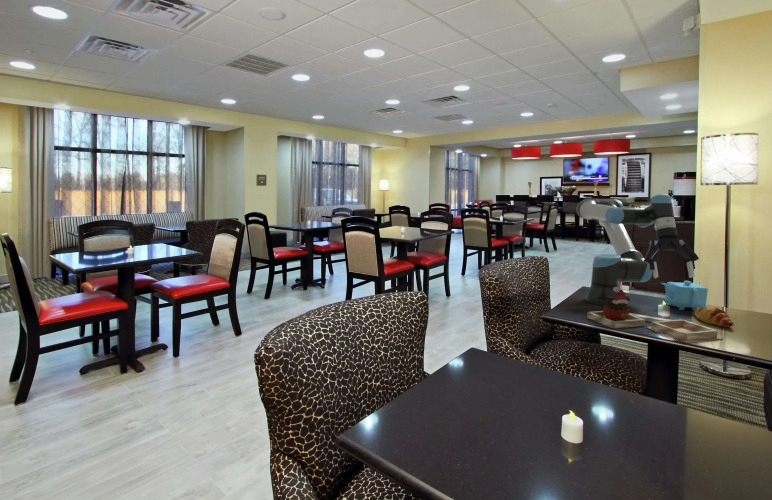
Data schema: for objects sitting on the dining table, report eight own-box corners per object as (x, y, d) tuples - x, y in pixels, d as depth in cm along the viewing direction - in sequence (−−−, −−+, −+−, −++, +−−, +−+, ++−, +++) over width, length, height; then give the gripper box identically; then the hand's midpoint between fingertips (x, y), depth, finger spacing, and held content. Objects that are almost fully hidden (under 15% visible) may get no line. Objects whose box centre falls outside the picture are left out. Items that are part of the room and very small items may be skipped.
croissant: (688, 321, 193) (681, 306, 192) (709, 312, 192) (702, 296, 191) (724, 337, 172) (716, 319, 171) (747, 326, 171) (740, 309, 170)
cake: (617, 317, 184) (621, 276, 181) (634, 324, 175) (639, 281, 172) (596, 318, 181) (600, 277, 178) (612, 325, 172) (617, 282, 170)
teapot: (687, 304, 210) (691, 278, 208) (708, 313, 195) (712, 285, 193) (649, 301, 212) (652, 276, 210) (666, 310, 197) (670, 283, 195)
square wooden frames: (587, 317, 182) (587, 311, 182) (645, 313, 191) (646, 307, 191) (656, 346, 151) (657, 338, 150) (722, 339, 160) (723, 331, 159)
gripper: (637, 227, 182) (645, 275, 176) (702, 225, 178) (712, 274, 172) (631, 232, 189) (637, 279, 183) (693, 231, 185) (702, 279, 179)
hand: (673, 277), depth 178 cm, fingers open, 13 cm apart
